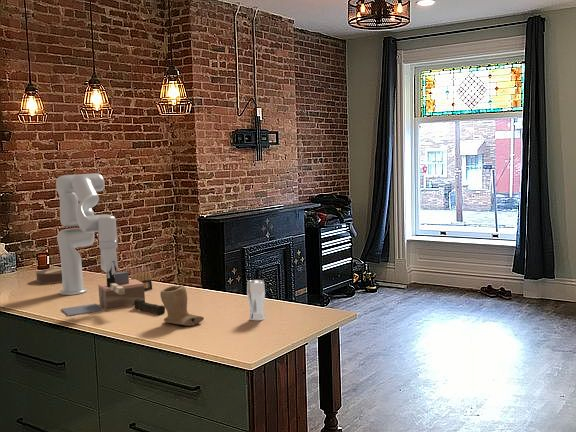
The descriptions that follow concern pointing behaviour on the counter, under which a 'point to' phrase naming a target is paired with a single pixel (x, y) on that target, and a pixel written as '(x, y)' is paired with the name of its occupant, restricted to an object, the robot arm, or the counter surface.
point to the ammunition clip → (143, 277)
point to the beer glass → (256, 299)
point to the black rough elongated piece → (149, 307)
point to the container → (49, 276)
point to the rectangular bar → (117, 288)
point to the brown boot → (178, 306)
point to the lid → (122, 281)
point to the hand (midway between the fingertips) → (111, 286)
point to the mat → (82, 309)
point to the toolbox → (120, 297)
